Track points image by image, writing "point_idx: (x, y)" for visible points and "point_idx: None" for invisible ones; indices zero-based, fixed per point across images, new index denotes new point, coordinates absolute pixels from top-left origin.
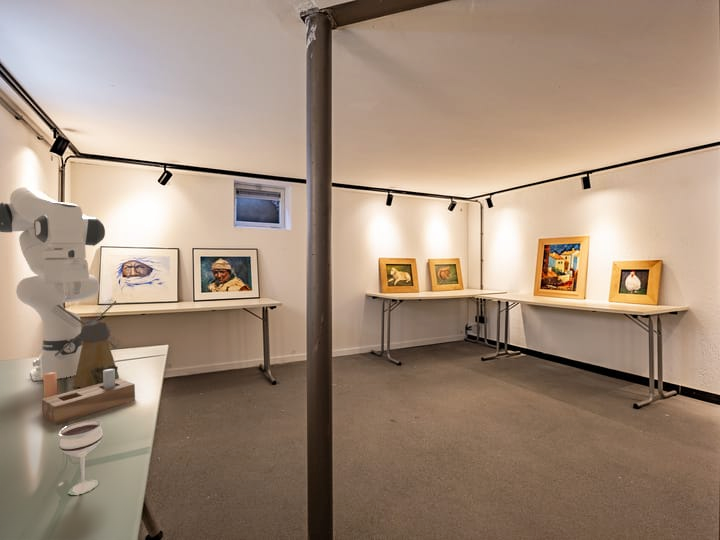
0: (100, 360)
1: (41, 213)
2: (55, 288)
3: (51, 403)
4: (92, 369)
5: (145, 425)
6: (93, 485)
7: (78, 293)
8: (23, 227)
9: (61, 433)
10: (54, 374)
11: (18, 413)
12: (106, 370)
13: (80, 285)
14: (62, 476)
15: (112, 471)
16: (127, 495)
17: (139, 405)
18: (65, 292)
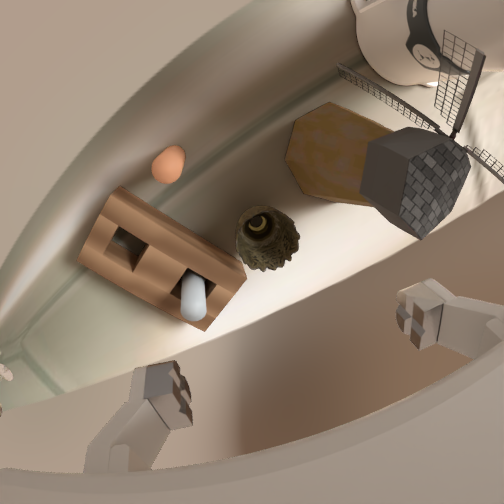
0: (335, 193)
1: None
2: (98, 435)
3: (89, 239)
4: (268, 210)
5: (108, 373)
6: (7, 379)
7: (403, 328)
8: None
9: None
10: (165, 183)
11: (136, 117)
12: (191, 306)
13: (473, 354)
14: (4, 347)
15: (25, 382)
16: (12, 402)
17: (175, 333)
18: (170, 426)
